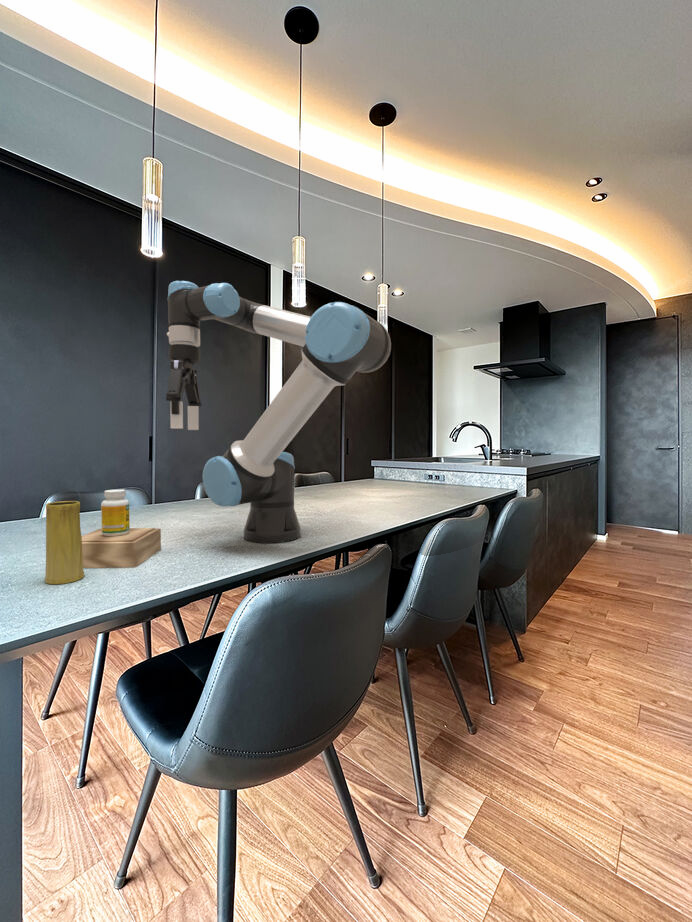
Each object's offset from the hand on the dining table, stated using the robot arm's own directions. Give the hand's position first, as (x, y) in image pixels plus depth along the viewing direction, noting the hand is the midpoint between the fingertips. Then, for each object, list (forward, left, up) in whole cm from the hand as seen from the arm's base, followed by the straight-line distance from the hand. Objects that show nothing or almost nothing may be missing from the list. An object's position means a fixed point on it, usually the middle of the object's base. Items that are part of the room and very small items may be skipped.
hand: (185, 429), depth 107 cm
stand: (+10, +17, -29) cm, 35 cm away
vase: (+13, +31, -29) cm, 44 cm away
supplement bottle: (+10, +17, -24) cm, 31 cm away
